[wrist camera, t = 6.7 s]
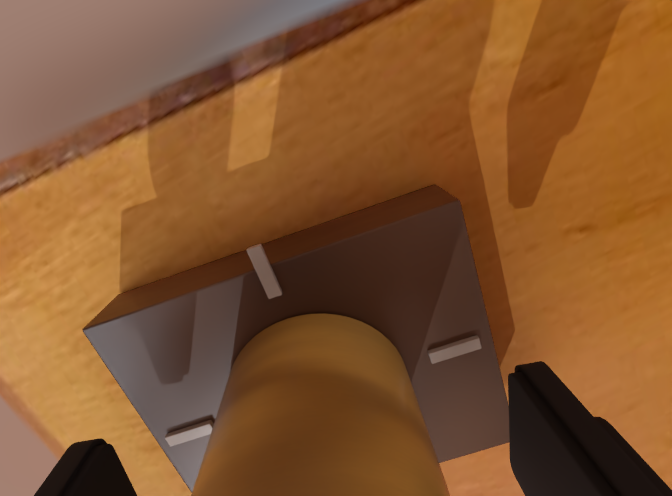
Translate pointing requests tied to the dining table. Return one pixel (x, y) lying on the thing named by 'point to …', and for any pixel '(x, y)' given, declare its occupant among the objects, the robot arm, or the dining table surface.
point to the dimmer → (317, 298)
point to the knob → (319, 417)
